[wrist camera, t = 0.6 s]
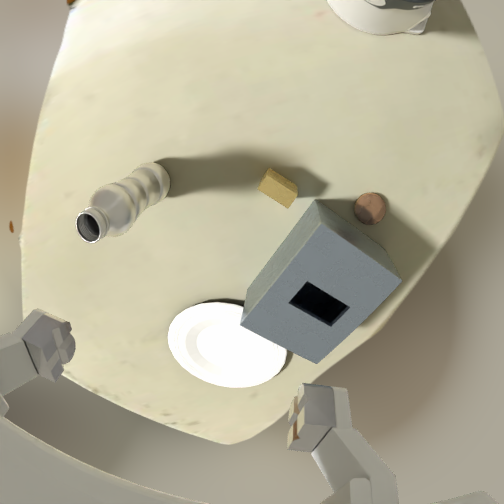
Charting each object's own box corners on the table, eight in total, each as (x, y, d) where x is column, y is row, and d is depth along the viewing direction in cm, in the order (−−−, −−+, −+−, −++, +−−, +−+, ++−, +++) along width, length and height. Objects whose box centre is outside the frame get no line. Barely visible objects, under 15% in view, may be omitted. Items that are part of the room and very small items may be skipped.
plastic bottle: (168, 155, 46) (99, 192, 28) (178, 195, 49) (120, 251, 31) (134, 164, 47) (58, 205, 29) (144, 202, 50) (78, 258, 32)
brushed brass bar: (268, 167, 45) (266, 175, 41) (296, 185, 46) (297, 194, 41) (260, 180, 46) (257, 189, 42) (288, 198, 47) (288, 208, 43)
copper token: (366, 185, 45) (368, 188, 44) (389, 204, 46) (391, 206, 45) (347, 210, 47) (349, 213, 46) (371, 227, 48) (372, 230, 47)
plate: (310, 330, 59) (311, 336, 57) (254, 394, 70) (253, 400, 68) (192, 275, 56) (189, 281, 54) (158, 354, 67) (155, 359, 65)
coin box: (314, 199, 46) (321, 223, 38) (384, 249, 49) (402, 281, 40) (247, 289, 55) (239, 325, 46) (314, 326, 58) (316, 364, 49)
